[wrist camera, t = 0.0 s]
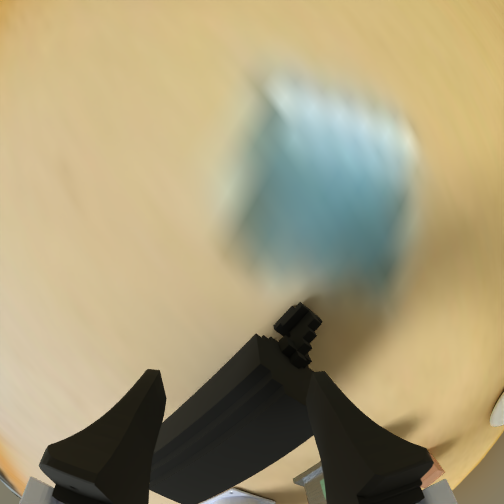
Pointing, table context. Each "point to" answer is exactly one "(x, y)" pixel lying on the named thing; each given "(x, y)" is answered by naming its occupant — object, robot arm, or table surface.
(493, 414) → the flower in vase
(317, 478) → the block
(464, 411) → the table surface
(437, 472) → the salmon pink block
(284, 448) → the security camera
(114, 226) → the table surface
